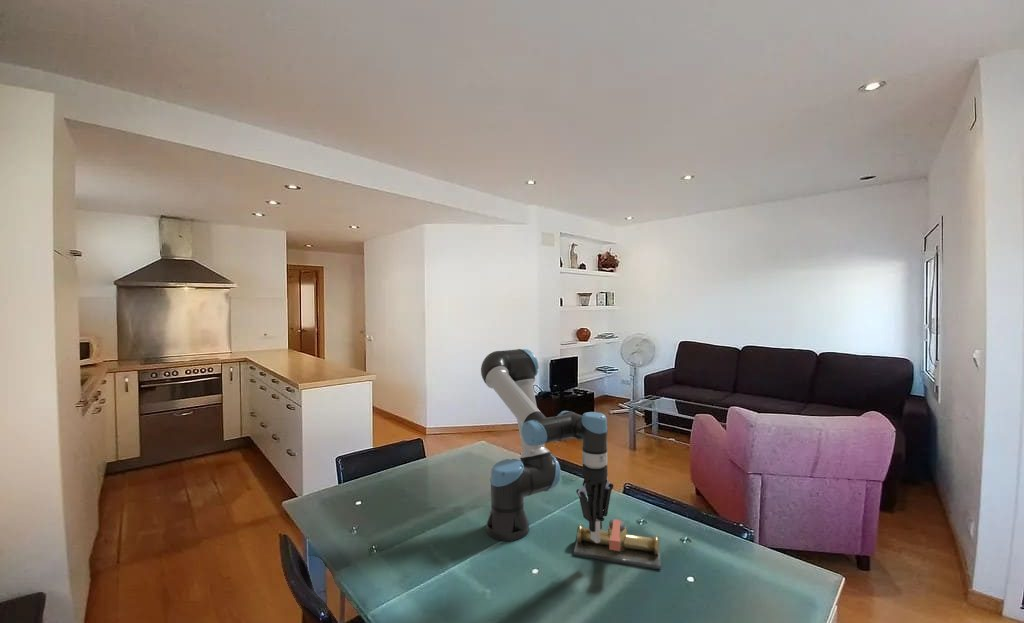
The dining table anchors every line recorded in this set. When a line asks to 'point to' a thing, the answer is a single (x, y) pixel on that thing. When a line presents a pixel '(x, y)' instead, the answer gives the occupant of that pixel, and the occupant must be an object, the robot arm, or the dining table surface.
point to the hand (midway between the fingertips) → (595, 540)
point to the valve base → (618, 555)
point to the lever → (615, 533)
